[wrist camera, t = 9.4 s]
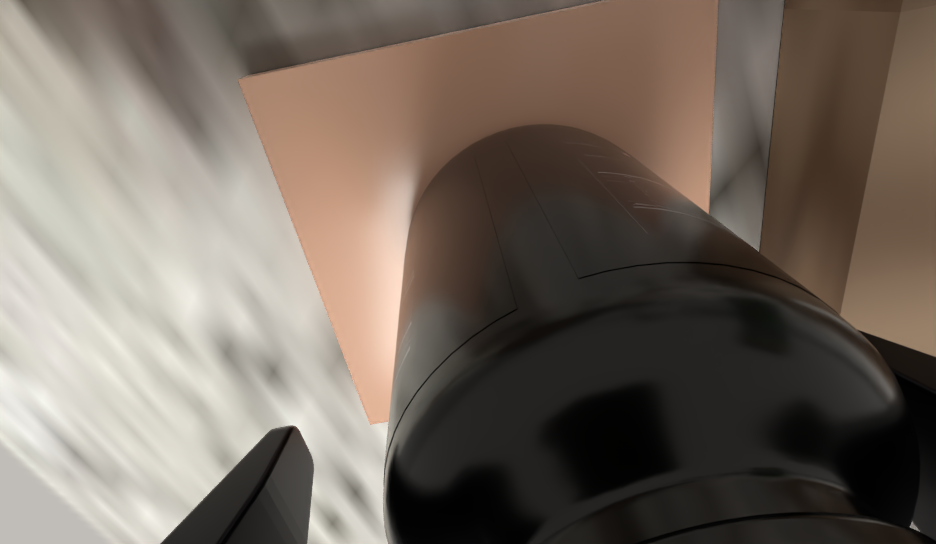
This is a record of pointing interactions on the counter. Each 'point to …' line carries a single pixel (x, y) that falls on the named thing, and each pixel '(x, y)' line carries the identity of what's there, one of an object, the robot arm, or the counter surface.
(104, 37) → the counter surface
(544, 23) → the terracotta coaster
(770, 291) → the supplement bottle
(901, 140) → the walnut caddy
